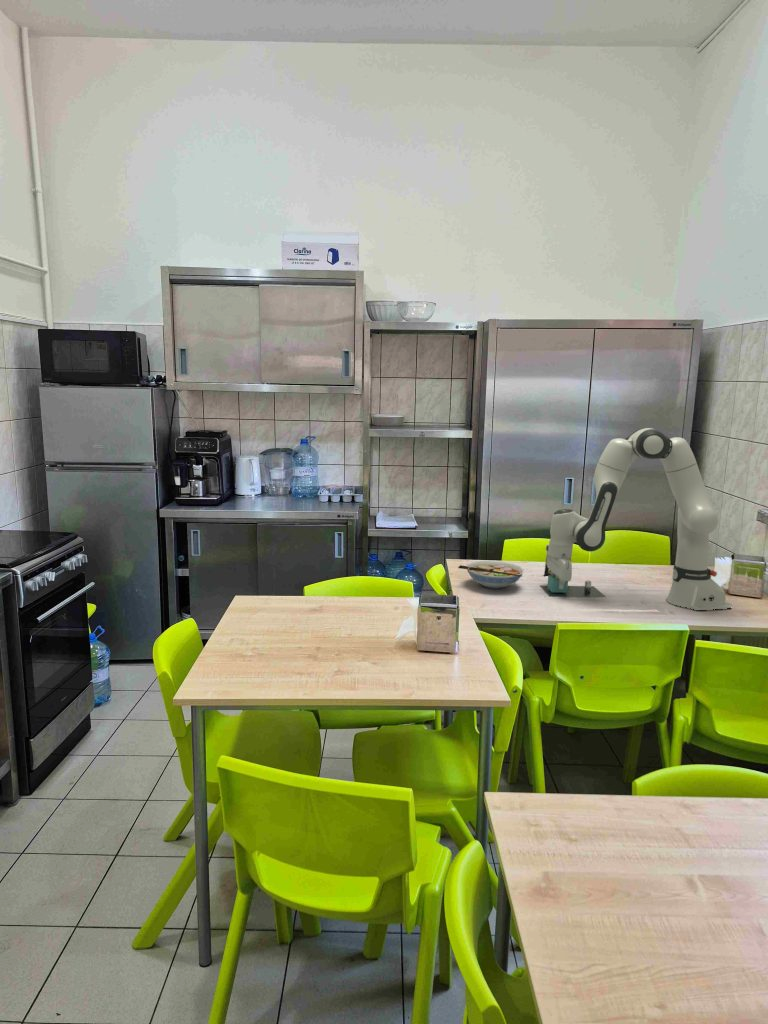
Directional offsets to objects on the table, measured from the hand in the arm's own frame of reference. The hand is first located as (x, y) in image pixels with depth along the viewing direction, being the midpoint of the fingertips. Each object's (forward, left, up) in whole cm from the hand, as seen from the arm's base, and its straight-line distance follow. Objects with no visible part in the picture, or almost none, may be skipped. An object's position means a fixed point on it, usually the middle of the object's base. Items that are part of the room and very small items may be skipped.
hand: (557, 585), depth 263 cm
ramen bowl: (+23, -9, -3) cm, 25 cm away
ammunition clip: (-7, -23, -3) cm, 24 cm away
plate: (-6, 0, -3) cm, 7 cm away
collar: (0, 0, -2) cm, 2 cm away
